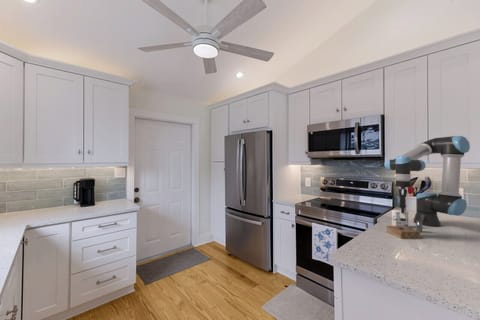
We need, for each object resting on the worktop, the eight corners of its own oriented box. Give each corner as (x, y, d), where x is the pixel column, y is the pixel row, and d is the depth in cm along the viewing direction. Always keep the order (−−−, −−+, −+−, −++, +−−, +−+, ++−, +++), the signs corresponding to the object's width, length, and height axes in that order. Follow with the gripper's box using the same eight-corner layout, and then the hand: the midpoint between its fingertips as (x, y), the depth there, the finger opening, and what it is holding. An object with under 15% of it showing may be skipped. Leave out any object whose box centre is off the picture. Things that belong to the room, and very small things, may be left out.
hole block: (404, 231, 138) (404, 225, 138) (420, 238, 126) (420, 232, 126) (386, 231, 138) (386, 225, 138) (401, 238, 126) (401, 232, 126)
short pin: (419, 231, 140) (419, 220, 140) (423, 232, 137) (423, 222, 137) (414, 230, 140) (415, 220, 140) (418, 232, 137) (419, 221, 137)
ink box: (403, 226, 151) (403, 210, 151) (408, 228, 146) (408, 211, 146) (391, 225, 151) (391, 209, 151) (395, 228, 146) (395, 211, 146)
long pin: (403, 219, 134) (403, 198, 134) (406, 221, 131) (407, 199, 131) (398, 219, 134) (398, 198, 134) (402, 221, 131) (402, 198, 131)
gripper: (396, 179, 141) (396, 214, 141) (394, 180, 129) (394, 218, 128) (410, 180, 136) (410, 216, 136) (410, 181, 124) (410, 221, 124)
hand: (402, 217), depth 132 cm, fingers closed on long pin, 3 cm apart
